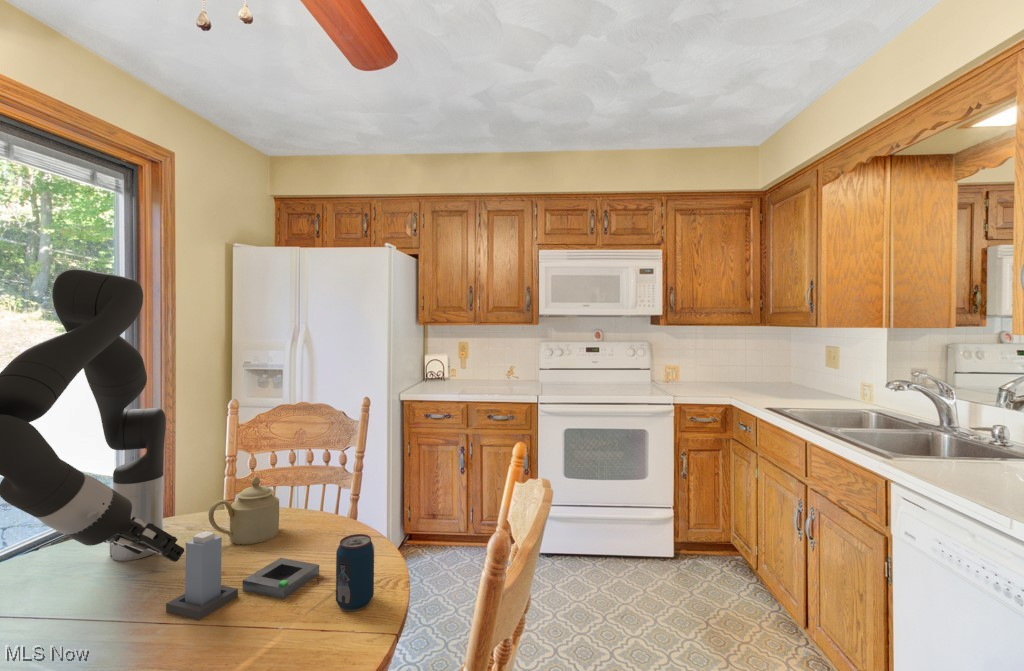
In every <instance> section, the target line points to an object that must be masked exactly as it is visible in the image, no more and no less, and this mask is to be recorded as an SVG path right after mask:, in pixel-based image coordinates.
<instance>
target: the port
mask: <svg viewBox="0 0 1024 671" xmlns="http://www.w3.org/2000/svg"><path fill="white" fill-rule="evenodd" d="M319 575H320V564H316V563H311V562H306V561H300V560H295V559H291V558H284V557H280V558H278V559H276V560H274V561H273V562H271V563H269V564H268V565H266V566H264V567H262V568H261V569H259V570H257V571H255V572H254V573H252V574H251V575H248V577H246V578H244V579H242V583H241V584H242V585H241V586H242V589H241V590H242V591H243V592H247V593H252V594H256V595H257V594H258V595H260V596H261V595H262V596H266V597H271V598H275V599H281V600H285V599H287V598H288V597H290V595H292V594H294V593H295V592H297V591H298V590H299V589H301V588H302V587H304V586H305V585H307V584H308V583H309V582H310V581H312V580H313V579H315V578H316V577H318V576H319Z"/></svg>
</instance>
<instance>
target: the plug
mask: <svg viewBox="0 0 1024 671" xmlns="http://www.w3.org/2000/svg"><path fill="white" fill-rule="evenodd" d="M215 534H216V533H215V532H211V531H206V530H205V531H202V532H199V533H198V534H195V535H192V536H193V537H192V539H191V540H189V541H187V542H186V541H185V562H184V563H185V567H184V568H185V574H184V576H185V577H184V578H185V580H184V581H185V582H184V584H185V585H184V594H185V603H188V604H193V605H197V606H203V605H204V604H206V603H208V602H209V601H211V600H213V599H214V598H216V597H218V596H219V595H221V585H222V542H223V538H222V536H218V535H217V536H216V535H215Z"/></svg>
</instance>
